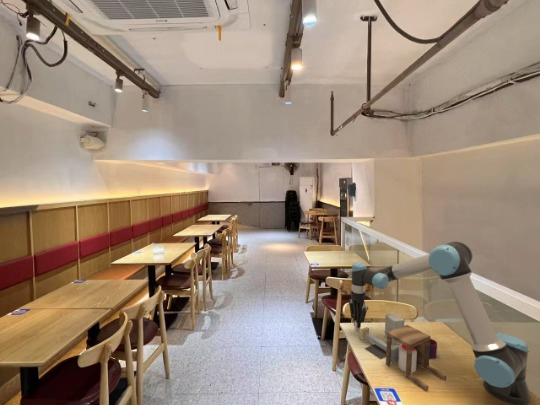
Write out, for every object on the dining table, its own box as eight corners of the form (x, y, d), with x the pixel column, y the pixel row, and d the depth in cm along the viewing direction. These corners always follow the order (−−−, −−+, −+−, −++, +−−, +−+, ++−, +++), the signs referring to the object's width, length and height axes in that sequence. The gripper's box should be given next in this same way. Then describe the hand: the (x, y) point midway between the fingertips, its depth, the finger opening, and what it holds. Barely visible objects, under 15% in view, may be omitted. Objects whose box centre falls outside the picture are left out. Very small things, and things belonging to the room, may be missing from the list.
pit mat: (396, 352, 150) (396, 351, 150) (380, 359, 144) (380, 358, 144) (380, 342, 159) (380, 341, 159) (364, 348, 153) (364, 348, 153)
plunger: (403, 357, 145) (404, 344, 144) (391, 363, 141) (392, 350, 140) (369, 336, 164) (369, 325, 163) (357, 341, 159) (357, 329, 159)
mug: (438, 359, 144) (439, 346, 144) (416, 357, 146) (417, 343, 146) (433, 351, 151) (434, 338, 150) (412, 349, 153) (413, 336, 152)
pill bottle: (415, 374, 133) (416, 351, 132) (396, 368, 137) (397, 346, 136) (417, 365, 140) (418, 343, 139) (399, 359, 144) (400, 338, 143)
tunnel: (446, 379, 130) (448, 344, 128) (425, 391, 123) (427, 354, 121) (405, 355, 147) (407, 324, 146) (385, 364, 140) (387, 332, 139)
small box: (403, 343, 158) (405, 320, 156) (393, 345, 156) (394, 321, 155) (394, 335, 166) (395, 313, 164) (384, 336, 164) (385, 314, 163)
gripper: (372, 294, 159) (370, 335, 162) (354, 286, 171) (353, 325, 173) (362, 296, 156) (361, 339, 158) (344, 288, 167) (343, 328, 169)
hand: (356, 332), depth 165 cm, fingers closed
